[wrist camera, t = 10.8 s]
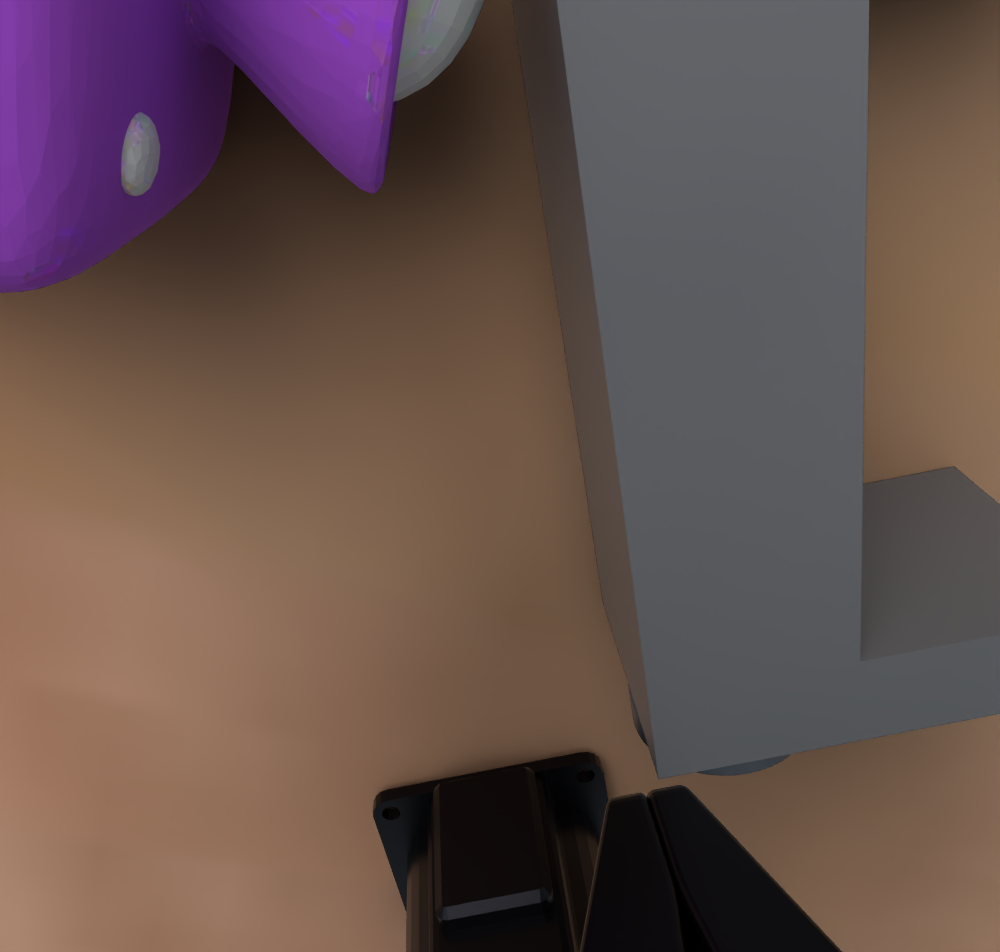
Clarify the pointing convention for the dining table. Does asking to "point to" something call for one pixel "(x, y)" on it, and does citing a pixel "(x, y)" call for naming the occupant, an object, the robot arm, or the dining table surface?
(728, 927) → the robot arm
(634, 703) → the grey hollow rectangular block
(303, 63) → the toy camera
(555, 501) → the dining table surface
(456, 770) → the dining table surface
